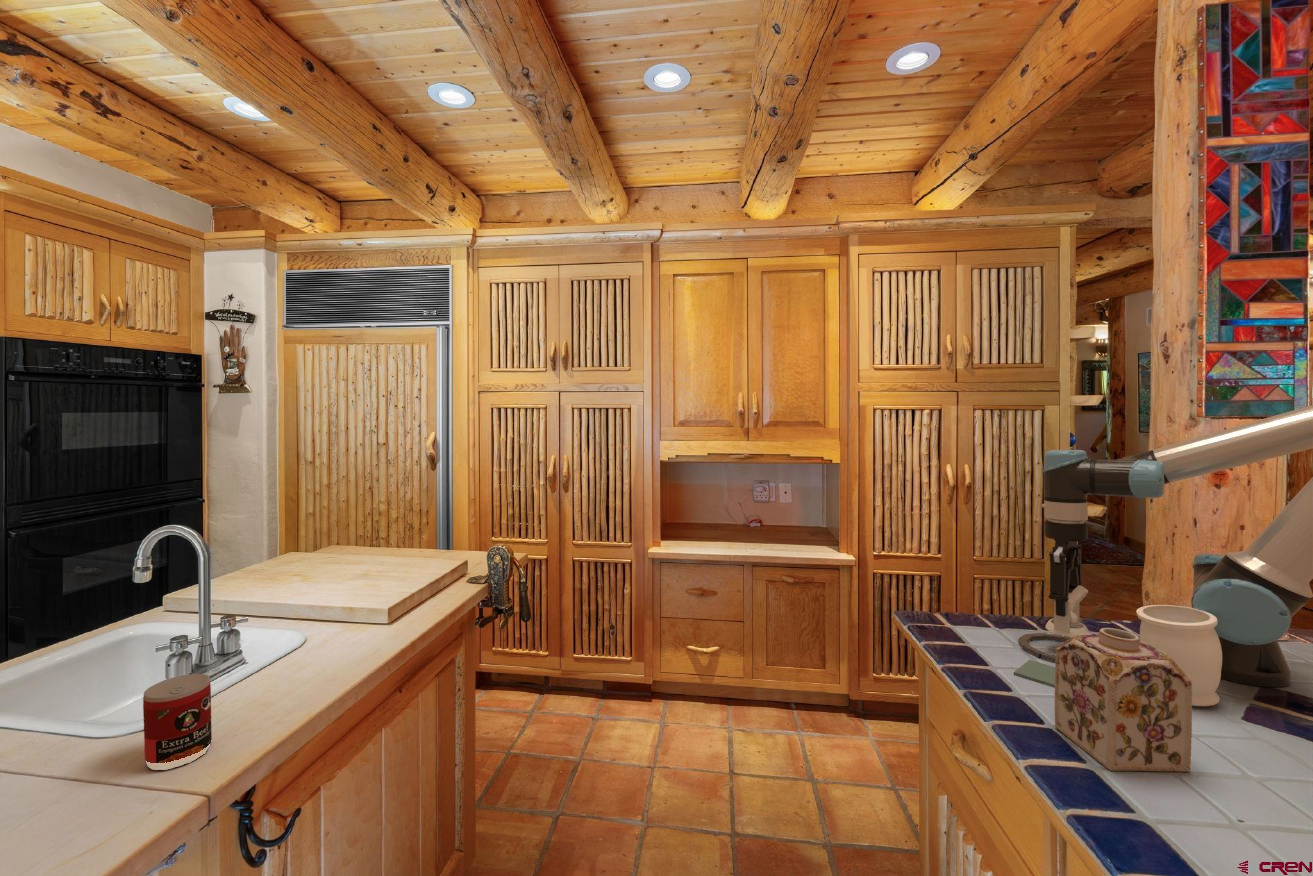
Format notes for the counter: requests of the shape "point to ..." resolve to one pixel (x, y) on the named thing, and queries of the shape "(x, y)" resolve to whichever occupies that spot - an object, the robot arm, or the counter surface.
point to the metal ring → (1027, 638)
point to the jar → (1186, 645)
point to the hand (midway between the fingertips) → (1067, 626)
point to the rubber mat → (1037, 672)
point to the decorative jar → (1124, 702)
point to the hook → (1072, 614)
